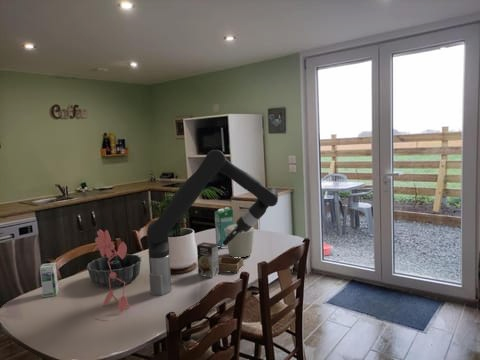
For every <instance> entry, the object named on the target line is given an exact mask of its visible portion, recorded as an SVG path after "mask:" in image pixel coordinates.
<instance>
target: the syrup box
mask: <svg viewBox="0 0 480 360" xmlns="http://www.w3.org/2000/svg"><path fill="white" fill-rule="evenodd" d="M39 271H40V273H39V275H40V280H41V281H40V282H41V289H42V298H48V297H56V296H57V295H58V293H59V284H58V274H57V273H58V272H57V263H56V262H50V263H42V264H41V265H40V266H39Z"/></svg>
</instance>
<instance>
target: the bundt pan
mask: <svg viewBox="0 0 480 360" xmlns="http://www.w3.org/2000/svg"><path fill="white" fill-rule="evenodd" d="M114 255H115V254H112V256H114ZM112 256H110V258H111V257H112ZM108 260H109V258H108V257H107V256H104V257H102V256H101V257H100V258H97V259H94V260H92V261H91V262H89V263H87V266H86V269H87V271H88V274H89V278H90V280H91V282H92V283H94V284H95V285H97V286H99V287H100V286H101V287H102V288H106V287H109V288H110V287H111V288H112V287H115V286H118V287H120V286H122V285H124V282H125V285H127V284H128V283H130V282H131V283H132V282H133V281H135V279H136V278H137V277H138V276H139V275H140V271H141V270H140V269H141V262H142V257H141V256H140V255H137V254H130V253H126V255H125V257H124V258H123V259H122V258H120V256H119V255H118V254H116V255H115V256H114V257H113V258H112V259H111V260H110V261H109V264H110V267H111V270H112V272H115V273H116V278H118V279H120V280H122V281H124V282H122V281H120V280H118V279H116V278H113V279H112V278H110V277H109V276H110V273H111V271H110V268H109V265H108V262H107V261H108ZM109 278H110V286H109Z"/></svg>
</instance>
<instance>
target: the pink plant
mask: <svg viewBox="0 0 480 360" xmlns="http://www.w3.org/2000/svg"><path fill="white" fill-rule="evenodd" d="M96 233H97V237H95V239H94V241H95V243H96V244H97V245H96V246H95V247H94V248H93V250H92V252H95V250H97V249H98V250H99V255H100V256H101V258H102V257H108V258H109V260H108V261H107V262H108V265H109V268H110V271H111V273H110V276H109V277H110V278H112V279H113V278H116V273H115V272H112V270H111V267H110V264H109V261H110V260H111V259H112V258H113V257H114V256H115V255H119V256H120V258H122V259H123V258H124V257H125V255H126V254H127V250H128V247H127V244H126V243H125V242H124V241H121V243H120V244H119V245H118V247H117V251H116V249H115V247H116V246H115V244H114V243H113V242H112V239H111V236H110V233H109V231H108V230H107V229H105V231H103V230H102V229H98V230H97V231H96ZM112 255H114V256H112ZM110 256H112V257H111V258H110ZM110 278H109V286H110ZM116 279H118V278H116ZM118 280H120V279H118ZM120 281H122V280H120ZM122 282H124V281H122ZM109 286H108V287H109ZM125 287H126V284H125V282H124V284H123V290H122V291H123V293H122V296H121V297H120V298H119V300H118V299H117V298H116V297H115V295H114V290H111V288H112V287H109V291H108V293H107V295H106V296H105V298H104V300H103V304H102V306H106V305H107V304H109V302H110V300H111V299H114V300H115V302H116V303H117V306H118V309H119V311H120V313H121V314H122V313H123V312H124V311H125V310H126V308H128V309H130V308H131V306H130V304H129V302H128V299H127V297H126V296H125V289H126V288H125ZM96 320H97V321H99V319H98V318H96ZM101 321H102V322H106V321H107V322H109V321H108V319H107V320H101Z"/></svg>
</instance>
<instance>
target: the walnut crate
mask: <svg viewBox="0 0 480 360" xmlns="http://www.w3.org/2000/svg"><path fill="white" fill-rule="evenodd" d="M218 266H219V271H230V272H238V271H239V269H240V268H241V267H242V266H243V267H244V258H233V257H231V256H229V257H227V256H220V257H218ZM239 272H240V271H239ZM239 272H238V273H239Z"/></svg>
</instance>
